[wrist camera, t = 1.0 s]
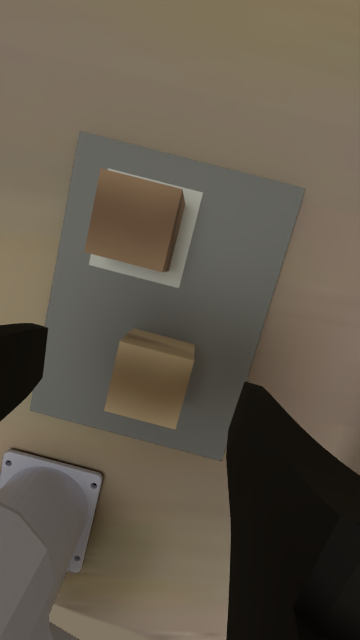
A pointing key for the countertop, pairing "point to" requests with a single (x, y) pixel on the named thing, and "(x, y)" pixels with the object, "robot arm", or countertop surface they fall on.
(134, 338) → the beech block
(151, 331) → the build board
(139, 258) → the walnut block
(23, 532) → the robot arm
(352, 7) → the countertop surface
